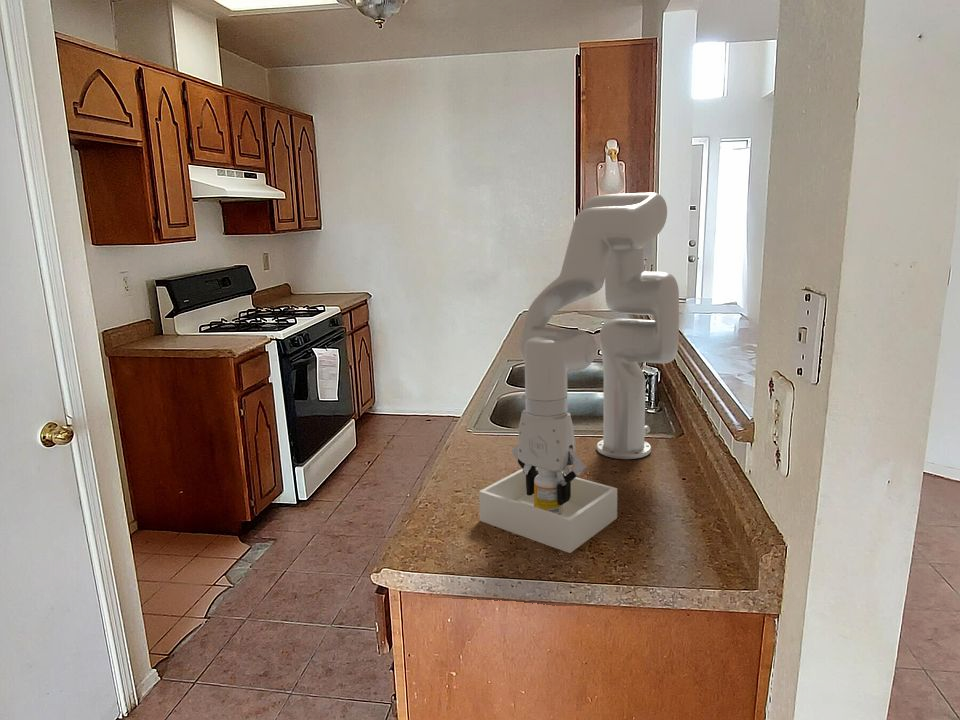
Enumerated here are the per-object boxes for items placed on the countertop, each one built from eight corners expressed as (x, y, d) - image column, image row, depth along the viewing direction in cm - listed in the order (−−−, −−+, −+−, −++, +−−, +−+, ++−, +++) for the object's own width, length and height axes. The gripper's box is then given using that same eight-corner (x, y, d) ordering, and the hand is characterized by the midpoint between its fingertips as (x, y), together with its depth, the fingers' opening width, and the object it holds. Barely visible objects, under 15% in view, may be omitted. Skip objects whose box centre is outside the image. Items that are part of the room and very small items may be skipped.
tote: (530, 491, 135) (529, 464, 134) (617, 518, 122) (617, 488, 121) (480, 520, 123) (478, 491, 122) (570, 553, 110) (569, 520, 109)
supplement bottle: (541, 506, 126) (541, 458, 124) (567, 512, 124) (568, 463, 122) (529, 517, 122) (529, 467, 120) (555, 523, 119) (556, 472, 117)
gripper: (496, 402, 121) (499, 493, 125) (576, 419, 109) (576, 517, 113) (520, 393, 126) (522, 480, 130) (599, 407, 115) (599, 502, 119)
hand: (548, 496), depth 122 cm, fingers open, 6 cm apart
